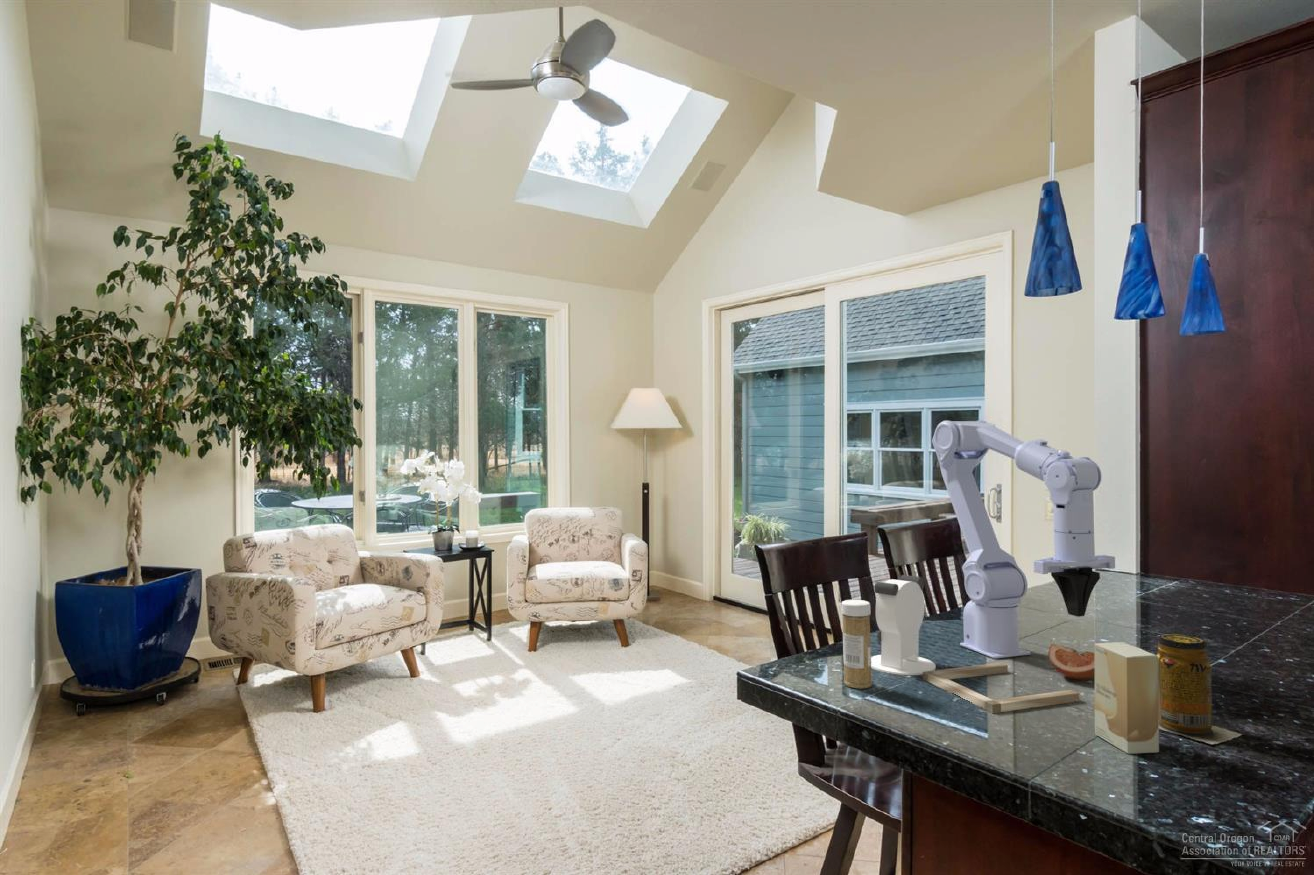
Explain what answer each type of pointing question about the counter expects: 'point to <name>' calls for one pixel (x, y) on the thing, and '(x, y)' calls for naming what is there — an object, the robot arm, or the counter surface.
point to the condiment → (1187, 690)
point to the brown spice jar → (856, 643)
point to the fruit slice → (1072, 662)
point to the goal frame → (993, 706)
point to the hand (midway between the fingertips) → (1076, 615)
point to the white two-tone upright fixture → (900, 626)
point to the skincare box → (1127, 697)
